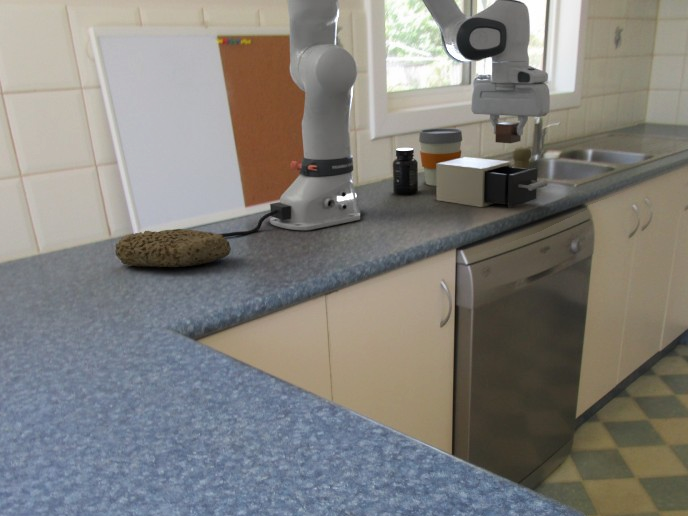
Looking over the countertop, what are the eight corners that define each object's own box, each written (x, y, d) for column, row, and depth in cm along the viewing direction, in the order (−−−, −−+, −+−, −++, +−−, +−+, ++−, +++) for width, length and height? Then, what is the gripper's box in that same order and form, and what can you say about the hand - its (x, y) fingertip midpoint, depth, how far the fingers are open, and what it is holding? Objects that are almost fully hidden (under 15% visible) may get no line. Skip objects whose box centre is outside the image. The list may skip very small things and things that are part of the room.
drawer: (551, 201, 165) (552, 169, 163) (527, 209, 158) (528, 177, 155) (491, 193, 177) (492, 163, 174) (466, 200, 169) (466, 170, 166)
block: (510, 143, 159) (511, 124, 157) (495, 142, 162) (495, 123, 160) (520, 141, 162) (521, 122, 160) (505, 140, 165) (505, 121, 163)
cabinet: (509, 198, 174) (511, 161, 171) (482, 207, 165) (482, 168, 162) (464, 192, 183) (465, 156, 180) (436, 200, 174) (436, 163, 171)
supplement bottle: (388, 193, 185) (387, 149, 180) (407, 189, 188) (406, 146, 184) (403, 196, 179) (402, 151, 175) (423, 193, 183) (422, 149, 179)
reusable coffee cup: (426, 188, 189) (425, 134, 184) (415, 180, 201) (413, 129, 195) (467, 185, 192) (468, 132, 187) (454, 177, 203) (454, 127, 198)
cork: (525, 190, 183) (526, 149, 179) (505, 188, 186) (506, 148, 182) (535, 186, 187) (536, 147, 183) (515, 184, 191) (517, 145, 187)
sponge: (114, 277, 125) (197, 265, 117) (105, 236, 124) (189, 221, 116) (163, 269, 137) (242, 257, 129) (156, 231, 136) (235, 217, 128)
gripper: (465, 75, 161) (465, 133, 165) (540, 75, 148) (537, 138, 153) (480, 73, 165) (480, 130, 170) (554, 73, 152) (551, 135, 157)
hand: (508, 134), depth 161 cm, fingers closed on block, 4 cm apart
